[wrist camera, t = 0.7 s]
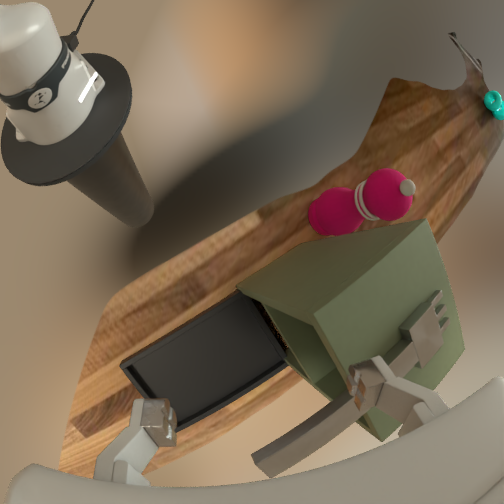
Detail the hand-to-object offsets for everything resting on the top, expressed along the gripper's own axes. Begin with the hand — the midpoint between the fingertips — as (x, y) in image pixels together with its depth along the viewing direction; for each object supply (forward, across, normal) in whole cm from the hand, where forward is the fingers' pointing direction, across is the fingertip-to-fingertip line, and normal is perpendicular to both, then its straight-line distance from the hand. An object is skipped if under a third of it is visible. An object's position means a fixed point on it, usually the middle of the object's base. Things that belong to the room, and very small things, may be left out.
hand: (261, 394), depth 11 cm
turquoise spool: (+62, -111, -28) cm, 130 cm away
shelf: (+27, -8, +14) cm, 31 cm away
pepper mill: (+33, -16, +3) cm, 37 cm away
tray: (+22, +6, +19) cm, 30 cm away
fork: (+2, -6, +6) cm, 9 cm away
